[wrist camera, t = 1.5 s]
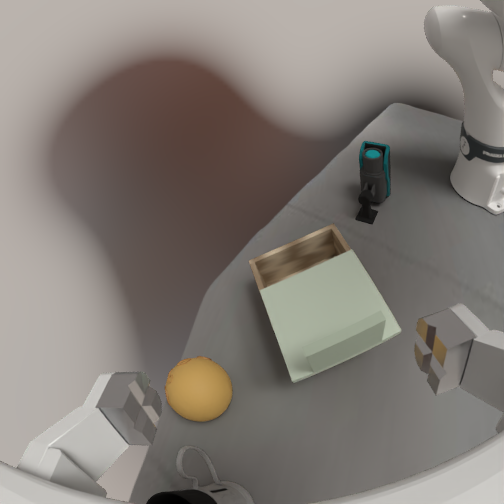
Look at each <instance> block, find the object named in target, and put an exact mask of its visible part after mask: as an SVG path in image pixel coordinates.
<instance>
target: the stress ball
mask: <svg viewBox="0 0 504 504" xmlns="http://www.w3.org/2000/svg"><path fill="white" fill-rule="evenodd" d="M165 392H166V397H167V401H168V403H169V405H171V406H172V408H173V409H174V410H175V411H176V412H177V413H178V414H179V415H181V416H182V417H184V418H186V419H189V420H192V421H200V422H202V421H209V420H212V419H215V418H216V417H218V416H220V415H221V414H222V413H223V412H224V411H225V410H226V409H227V407H228V406H229V404H230V401H231V398H232V384H231V381H230V378H229V376H228V374H227V373H226V371H225V370H224V369H223V368H222V367H221V366H220V365H218V364H217V363H215V362H213V361H212V360H211V359H210V358H207V357H201V356H198V357H197V358H187V359H184V360H182V361H180V362H179V363H178V364H177V366H175V367H174V368H173V369H171V371H170V372H169V374H168V378H167V382H166V386H165Z"/></svg>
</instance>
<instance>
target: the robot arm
mask: <svg viewBox="0 0 504 504" xmlns="http://www.w3.org/2000/svg"><path fill="white" fill-rule="evenodd" d="M480 1H481V2H482V3H483V4H484V5H485V6H486V7H487V8H489V9H490V10H491V11H492V12H488V11H483V10H478V9H473V8H468V7H462V6H438V7H432V8H431V9H430V10H429V11H428V13H427V15H426V17H425V21H424V30H425V35H426V38H427V40H428V42H429V44H430V46H431V47H432V49H433V50H434V51H435V52H436V53H437V54H438V55H439V56H440V57H441V58H443V59H444V60H445V61H446V62H447V63H448V64H449V65H450V66H451V67H452V68H453V69H454V71H455V72H456V74H457V76H458V77H459V79H460V81H461V84H462V87H463V92H464V121H463V122H462V127H461V135H460V151H459V155H458V158H457V161H456V164H455V166H454V168H453V170H452V172H451V175H450V180H451V183H452V186H453V187H454V189H455V190H456V191H457V193H458V194H459V195H461V196H462V197H463V198H464V199H466V200H467V201H469V202H471V203H473V204H476V205H479V206H481V207H484V208H485V209H487V210H488V211H489V212H491V213H493V214H495V215H497V214H500V213H502V212H504V89H503V88H502V87H501V86H500V85H498V84H497V83H496V82H494V81H493V75H492V74H493V70H499V71H503V72H504V0H480ZM416 331H417V332H418V333H419V337H418V338H417V340H416V341H415V348H414V352H415V358H416V361H417V364H418V366H419V368H420V370H421V371H423V372H425V373H427V374H428V379H427V381H428V383H429V385H430V386H431V388H432V390H433V392H434V393H435V395H436V396H437V395H439V394H442V393H445V392H447V391H449V390H452V389H454V388H457V387H459V386H460V388H462V389H463V390H465V391H467V392H468V393H470V394H472V395H474V396H476V397H477V398H479V399H481V400H483V401H484V402H486V403H488V404H490V405H491V406H493V407H495V408H497V409H498V410H500V411H502V412H504V332H501V331H497V330H492V331H490V330H489V329H488V328H487V327H486V326H485V325H484V324H483V323H482V322H481V321H480V320H479V319H478V318H477V317H476V316H475V315H474V314H473V313H472V312H471V311H470V310H469V309H468V308H467V307H466V306H465V305H463V304H460V303H459V304H457V305H454V306H452V307H449V308H447V309H445V310H442V311H439V312H436V313H434V314H431V315H428V316H425V317H422V318H419V319H418V322H417V327H416ZM149 383H150V380H149V378H148V377H147V375H146V374H145V373H143V372H116V373H103V374H101V375H99V377H98V379H97V381H96V382H95V384H94V386H93V388H92V390H91V391H90V393H89V395H88V397H87V399H86V401H85V402H84V404H83V406H82V407H78V408H76V409H75V410H74V411H72V412H71V413H70V414H68V415H67V416H65V417H64V418H63V419H61V420H60V421H58V422H57V423H56V424H54V425H53V426H52V427H50V428H49V429H47V430H46V431H45V432H43V433H42V434H40V435H39V436H37V437H36V438H35V439H33V440H32V441H31V442H30V444H29V446H28V447H27V449H26V451H25V453H24V455H23V457H22V459H21V461H20V463H19V464H18V466H17V468H15V467H13V466H10V465H8V464H6V463H4V462H2V461H0V504H136V503H130V502H125V501H120V500H115V499H110V498H106V494H107V492H106V490H105V489H104V488H102V487H101V486H100V485H99V484H97V483H96V481H97V480H98V479H99V478H100V477H101V476H102V475H103V474H104V473H105V472H106V471H107V470H108V469H109V468H110V466H111V465H112V464H113V463H114V462H115V461H116V460H117V459H118V458H119V457H120V456H121V455H122V453H123V452H124V451H125V450H126V449H127V448H128V447H129V445H152V444H153V441H154V437H155V434H156V430H157V429H156V427H155V425H154V423H155V422H157V421H158V420H159V419H160V416H161V413H162V403H161V400H160V397H159V395H158V393H157V391H156V390H154V389H153V388H151V387H149ZM496 431H497V432H498V434H496V435H495V436H493V437H491V438H490V439H488V440H486V441H484V442H483V443H481V444H479V445H477V446H476V447H474V448H472V449H470V450H468V451H466V452H464V453H462V454H460V455H458V456H456V457H454V458H452V459H450V460H448V461H446V462H444V463H441V464H439V465H437V466H435V467H432V468H430V469H428V470H425V471H423V472H420V473H418V474H415V475H413V476H410V477H407V478H404V479H402V480H399V481H396V482H393V483H390V484H387V485H384V486H380V487H377V488H374V489H370V490H367V491H363V492H359V493H356V494H352V495H348V496H343V497H339V498H334V499H329V500H324V501H319V502H313V503H307V504H504V413H503V415H502V417H501V418H500V420H499V422H498V424H497V426H496Z"/></svg>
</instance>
